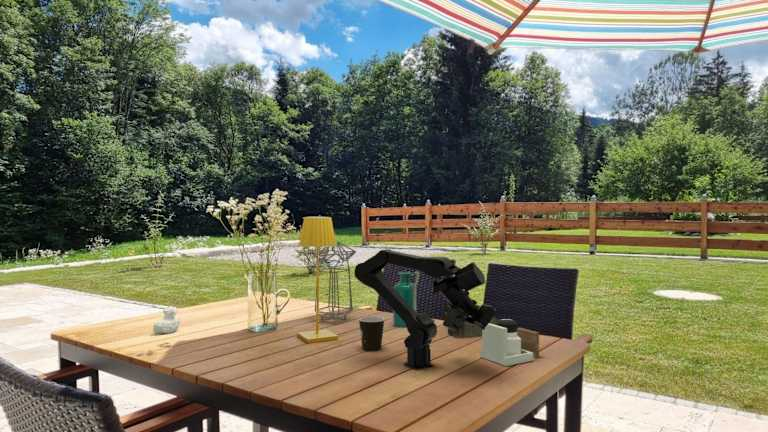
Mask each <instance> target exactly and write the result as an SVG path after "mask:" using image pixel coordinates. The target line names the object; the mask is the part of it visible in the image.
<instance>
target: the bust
mask: <svg viewBox="0 0 768 432" xmlns="http://www.w3.org/2000/svg"><path fill="white" fill-rule="evenodd" d="M177 309H178V308H177V307H176V306H173V305H171V306H168V307H167V308H164V309H163V310H162V313H163V315H164V317H162V318H161V319H158V320H156V322H155V323H154V324H153V327H152V331H153V333H154V334H156V335H159V334H173V333H174V332H176V331H177V330H178V329H179V325H180V324H181V319H180V316H178V315H176V314H177V312H178V310H177Z"/></svg>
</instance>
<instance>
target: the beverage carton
mask: <svg viewBox="0 0 768 432" xmlns="http://www.w3.org/2000/svg"><path fill="white" fill-rule="evenodd" d="M499 320H500V319H499V318H496V317H495V316H494V317H493V318H492V319H491V321H490V322H489V323H490V324H494V325H497V326H498V321H499ZM447 334H448V335H450V336H452V337H453V338H454V339H460V338H461V339H463V338H474V337H482V329H480V328H479V327H477V326H476V325H474V324H471V323H468V321H465V323H464V326H463V328H462V329H460V331H455V330H452V329H450V328H447Z"/></svg>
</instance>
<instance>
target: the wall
mask: <svg viewBox="0 0 768 432" xmlns="http://www.w3.org/2000/svg"><path fill="white" fill-rule="evenodd" d="M517 335H518V336H519V337H520V338H521V349H523V350H526V351H529V352H532V353H533V360H534V359H539V358H540V332H538V331H534V330H531V329H528V328H527V329H526V328H524V327H517Z"/></svg>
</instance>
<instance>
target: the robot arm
mask: <svg viewBox="0 0 768 432" xmlns="http://www.w3.org/2000/svg"><path fill="white" fill-rule="evenodd" d="M388 264H390V265H394V266H395V265H396V266H399V267H403V268H409V269H414V270H418V271H419V272H421V273H423V274H424V275H426V276H430V277H431V278H435V279H438V278H439V279H440V278H442V277H444V278H442V279H440V280H438V281H435V280H433V281H432V290H431V294H432V295H434V294H437V293H439V292H440V294H441V295H442V296H443V297H444V299H446V300H447V302H446V304H445V305H444V307H443V313H445V317H444V320H443V321H442V325H443V327H446V329H448V328H450V329H452V330H455V331H460V329H462V328H463V326H464V323H465V321H468V323H471V324H474V325H476V326H477V327H479V328H480V329H482V330H484V329H485V327H486V326H487V325H488V324H489V322H490V321H491V319H492V318H493V317H494V318H495V316H496V314H497V309H496V308H495V307H494V306H493V305H489V304H485V303H484V304H481V305H479V304H478V301H477V300H476V299H472V298H471V297H470V292H469V291H471V290H473V289H475V288H477V287H480V286H483V285H485V284H486V278H485V275H484V273H483V271H482V270H481V269H480V268H479V266H477V265H476V263H475V262H474V261H473V262H470V263H469V264H467V265H466V266H464V267H461V268H460V267H459V266H457V265H456V264H453V263H452V261H451V260H450V258H448V257H447V256H420V255H415V254H411V253H410V254H409V253H405V252H400V251H395V250H391V249H389V248H387V249H381V250H379V251H377V253H375V254H374V255H372V256H371V257H370V258H368V259H366V260H365V261H363V262H359V263H358V264H356V266H355V268H354V277H355V279H356V280H358V281H359V282H360V283H361V284H363V285H365V286H366V287H368V288H370V289H373V290H374V291H375V293H377V294H378V295H379V296H380V297H381V299H382V300H384V302H385V303H386V304H387V305H388V306H389V307H390V308H391V309H392V311H393V310H394V311H395V312H396V313H397V314H398V315H399V317H400V318H401V319H402V320H403V321H404V322H405V324H406V327H405V328H406V330H407V332H408V333H409V335H408V336H407V337H406V338H404V340H403V343H404V346H405V348H406V352H407V354H406V357H407V358H406V362H404V363H403V365H405V366H407V367H409V368H411V369H414V370H423V369H425V368H426V369H427V368H431V367H434V364H433V363H431V358H432V357H431V355H432V354H431V353H432V352H431V348H430V347H431V345H430V344H432V340H433V339H434V338H435V337H436V335H437V333H438V327H437V325H436V323H435V322H436V321H435V320H434V319H433V318H432V317H430V315H429V314H428V312H426V311H424V312H421V313H419V312H417V310H416V311H415V310H414V309H413V308H412V307H411V306H410V305H409V304H408V303H407V302H406V301H405V300H404V299H403V298H402V297H401V295H400V294H399V293H398V292H397V291H396V290H395V289H394V286H393V285H391V284H390V283H389V282H388V281H387V280H386V278H385V274H384V272H383V271H384V269H385V267H387V265H388Z"/></svg>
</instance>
